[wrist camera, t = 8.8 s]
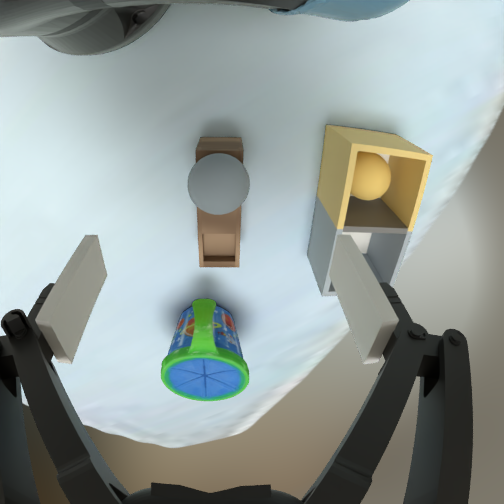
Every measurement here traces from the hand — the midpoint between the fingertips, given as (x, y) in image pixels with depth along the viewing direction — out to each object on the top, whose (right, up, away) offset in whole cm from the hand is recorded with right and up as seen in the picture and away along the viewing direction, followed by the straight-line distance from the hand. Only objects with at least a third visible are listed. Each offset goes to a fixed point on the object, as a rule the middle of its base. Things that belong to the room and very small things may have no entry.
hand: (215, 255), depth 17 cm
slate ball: (-1, +7, +10) cm, 13 cm away
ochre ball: (+13, +9, +15) cm, 22 cm away
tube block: (+13, +6, +17) cm, 23 cm away
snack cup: (-4, -9, +27) cm, 29 cm away
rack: (-1, +6, +16) cm, 17 cm away
